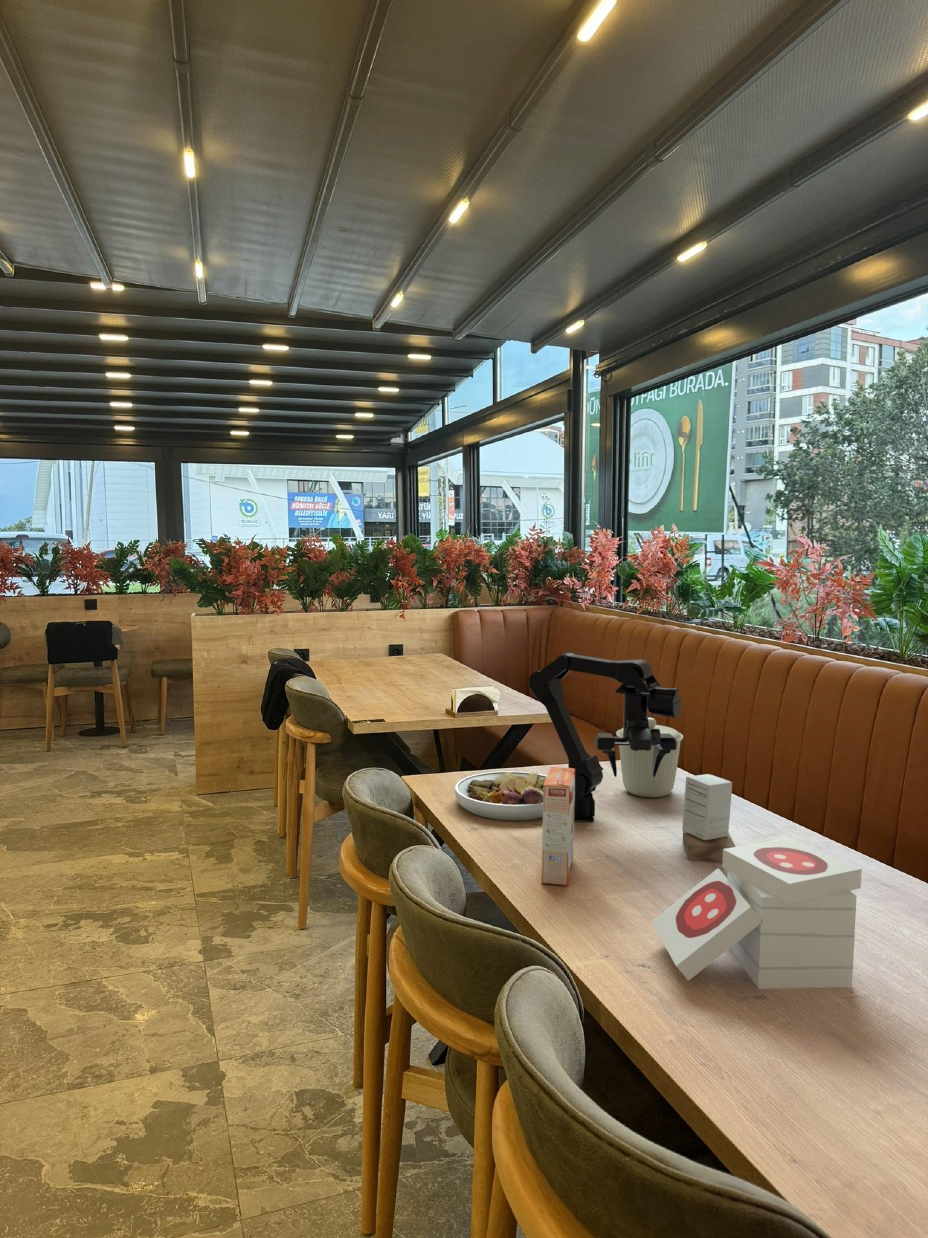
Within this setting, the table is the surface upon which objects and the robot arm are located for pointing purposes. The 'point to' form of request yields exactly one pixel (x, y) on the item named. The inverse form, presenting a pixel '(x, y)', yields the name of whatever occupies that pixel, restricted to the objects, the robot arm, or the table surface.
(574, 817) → the robot arm
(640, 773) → the canister
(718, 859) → the walnut riser block
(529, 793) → the bowl
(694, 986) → the table surface
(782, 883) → the pizza boxes
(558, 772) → the cracker box
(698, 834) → the supplement box
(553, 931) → the table surface
